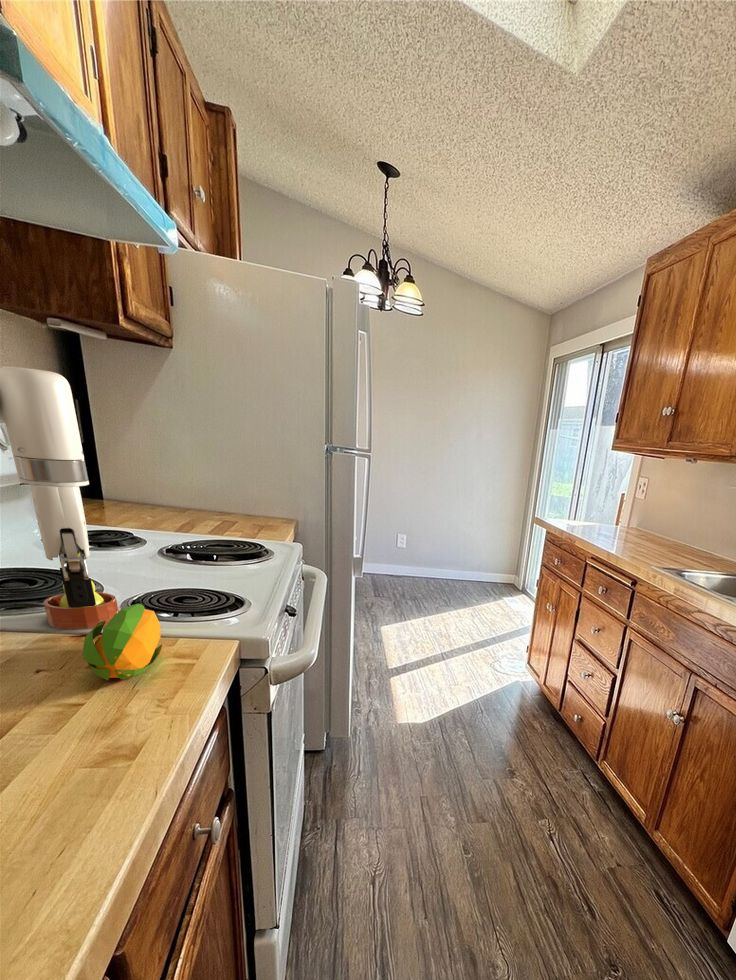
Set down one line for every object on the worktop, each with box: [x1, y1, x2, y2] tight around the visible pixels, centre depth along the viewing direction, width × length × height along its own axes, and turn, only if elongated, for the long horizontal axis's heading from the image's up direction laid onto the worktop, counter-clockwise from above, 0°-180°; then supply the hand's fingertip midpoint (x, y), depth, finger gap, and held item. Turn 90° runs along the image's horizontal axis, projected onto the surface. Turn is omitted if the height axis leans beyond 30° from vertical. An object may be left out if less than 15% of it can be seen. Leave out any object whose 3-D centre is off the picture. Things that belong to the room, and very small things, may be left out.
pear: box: [59, 579, 105, 608], centre depth 83 cm, size 6×6×9 cm
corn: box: [82, 603, 163, 681], centre depth 74 cm, size 7×8×20 cm
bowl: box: [43, 591, 120, 638], centre depth 83 cm, size 9×9×4 cm
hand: (80, 598), depth 82 cm, fingers open, 6 cm apart
